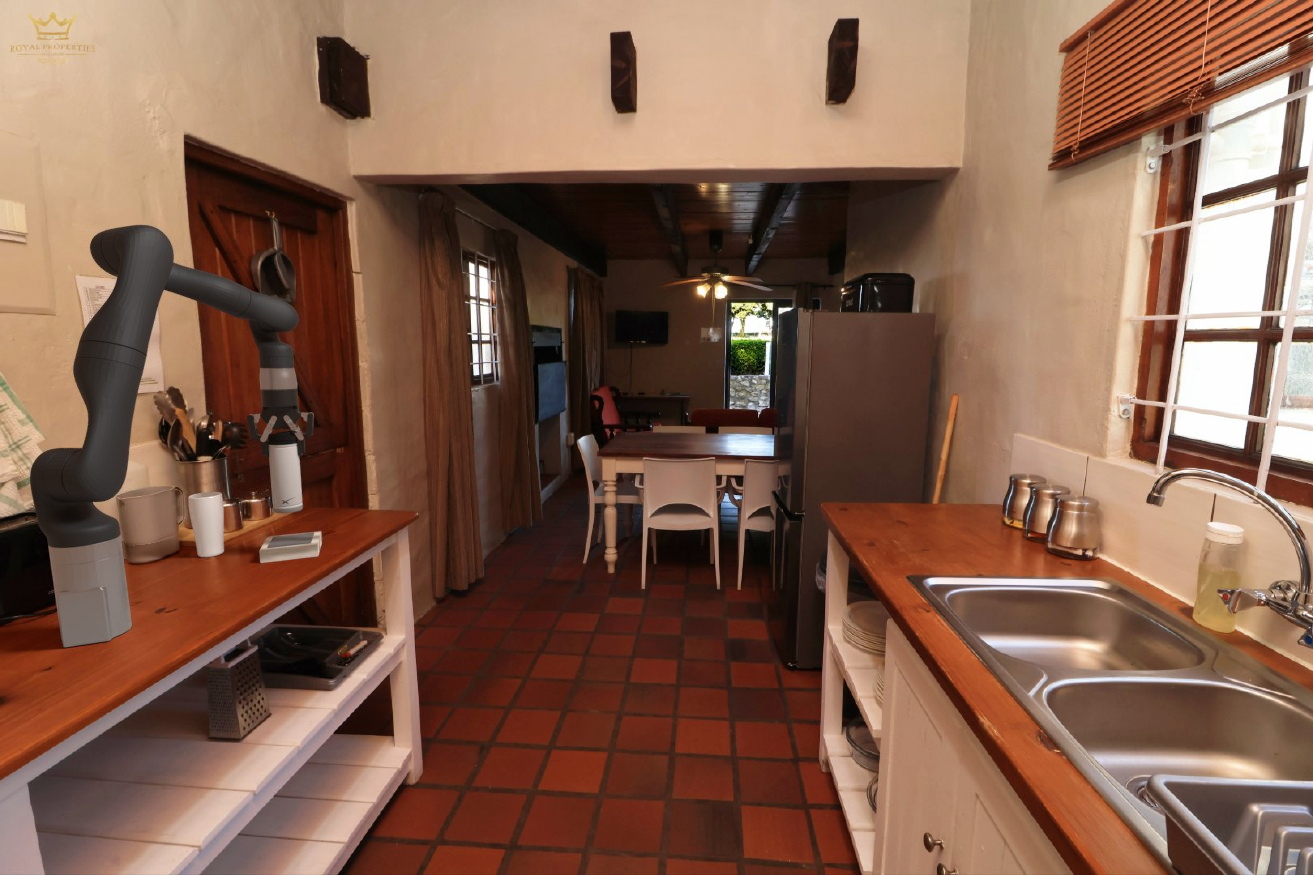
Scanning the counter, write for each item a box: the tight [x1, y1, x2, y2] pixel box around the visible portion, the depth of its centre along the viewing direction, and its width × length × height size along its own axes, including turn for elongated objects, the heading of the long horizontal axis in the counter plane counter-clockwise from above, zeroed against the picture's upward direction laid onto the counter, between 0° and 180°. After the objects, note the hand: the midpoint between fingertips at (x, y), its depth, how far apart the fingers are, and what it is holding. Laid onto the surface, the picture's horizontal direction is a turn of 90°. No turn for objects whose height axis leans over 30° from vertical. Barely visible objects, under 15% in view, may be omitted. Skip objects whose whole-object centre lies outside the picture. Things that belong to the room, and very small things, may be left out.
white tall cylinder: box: [187, 491, 225, 558], centre depth 149 cm, size 7×7×15 cm
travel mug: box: [268, 429, 304, 514], centre depth 149 cm, size 6×7×20 cm
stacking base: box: [258, 530, 323, 564], centre depth 152 cm, size 12×12×3 cm
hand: (284, 455), depth 149 cm, fingers closed on travel mug, 6 cm apart
